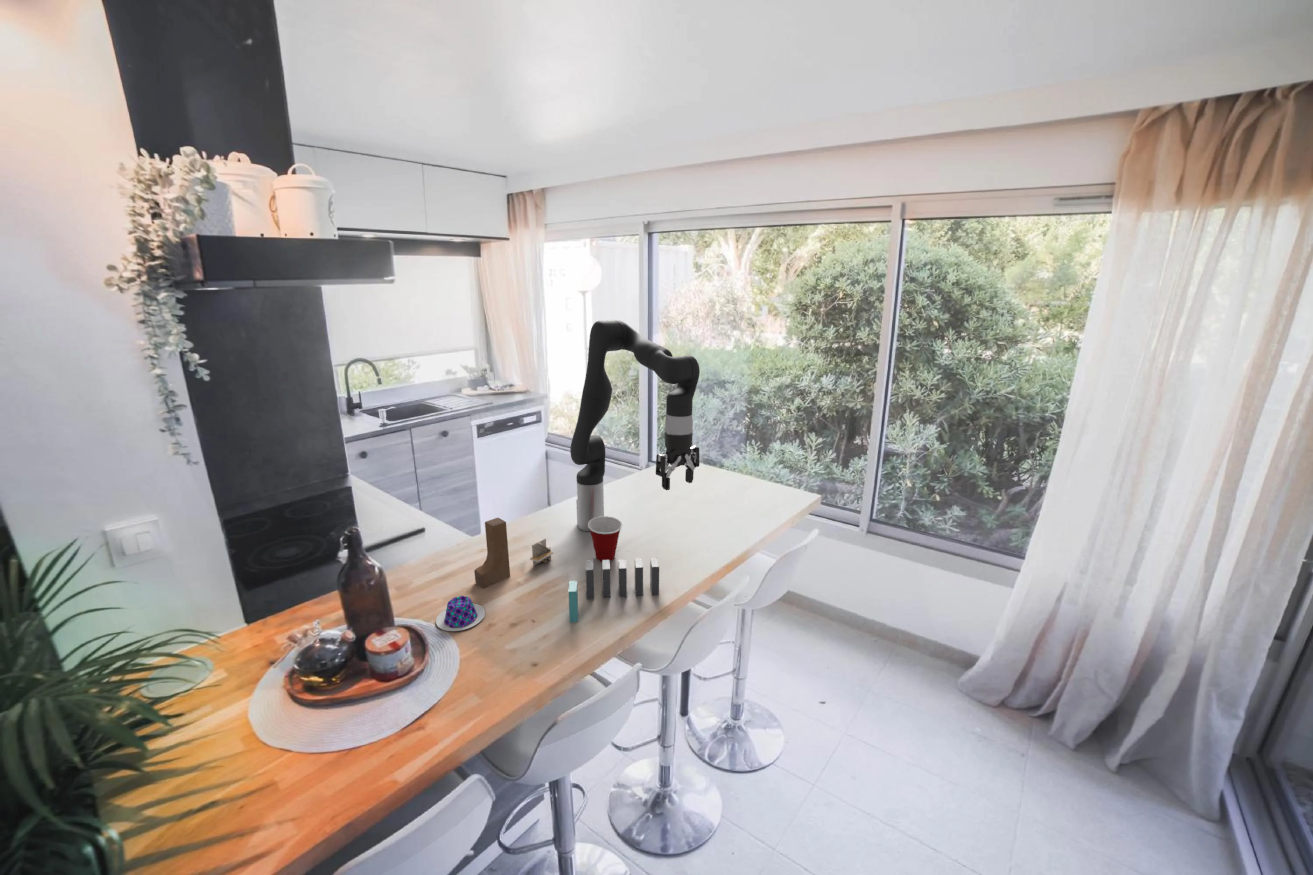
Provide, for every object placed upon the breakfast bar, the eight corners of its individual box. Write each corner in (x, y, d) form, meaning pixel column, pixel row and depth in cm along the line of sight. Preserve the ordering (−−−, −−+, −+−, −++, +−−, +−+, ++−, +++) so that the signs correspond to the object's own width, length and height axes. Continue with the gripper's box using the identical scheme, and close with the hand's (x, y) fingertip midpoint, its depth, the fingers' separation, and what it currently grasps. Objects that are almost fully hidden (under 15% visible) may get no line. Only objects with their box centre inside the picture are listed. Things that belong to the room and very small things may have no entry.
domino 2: (586, 599, 147) (585, 570, 145) (587, 589, 152) (586, 560, 149) (594, 598, 147) (593, 569, 145) (594, 588, 152) (593, 560, 150)
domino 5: (635, 596, 149) (635, 567, 146) (634, 586, 153) (634, 558, 151) (643, 596, 149) (643, 567, 146) (641, 586, 154) (641, 558, 151)
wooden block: (482, 589, 151) (477, 531, 146) (475, 583, 154) (469, 526, 149) (510, 577, 158) (506, 521, 153) (502, 571, 161) (498, 516, 156)
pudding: (485, 629, 135) (483, 610, 133) (433, 637, 131) (431, 618, 130) (485, 602, 146) (484, 585, 144) (438, 609, 142) (436, 592, 141)
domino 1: (569, 622, 137) (568, 591, 135) (570, 610, 142) (569, 580, 139) (577, 621, 137) (576, 591, 135) (578, 610, 142) (577, 580, 139)
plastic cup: (603, 570, 162) (603, 534, 158) (581, 557, 169) (580, 523, 166) (630, 557, 169) (629, 523, 166) (607, 546, 176) (607, 512, 173)
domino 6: (651, 595, 149) (652, 566, 146) (650, 585, 154) (650, 557, 151) (658, 595, 149) (659, 566, 147) (657, 585, 154) (657, 557, 151)
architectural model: (554, 562, 167) (553, 541, 165) (537, 572, 161) (536, 549, 159) (546, 559, 169) (545, 538, 167) (530, 568, 163) (528, 546, 161)
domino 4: (619, 597, 148) (619, 568, 145) (618, 587, 153) (618, 559, 150) (626, 597, 148) (626, 568, 146) (625, 587, 153) (625, 559, 150)
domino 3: (603, 598, 148) (602, 569, 145) (603, 588, 152) (602, 560, 150) (610, 597, 148) (609, 568, 145) (610, 587, 153) (609, 559, 150)
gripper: (688, 423, 152) (687, 476, 157) (649, 431, 143) (649, 487, 148) (707, 428, 147) (705, 483, 151) (668, 437, 138) (667, 496, 142)
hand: (677, 485), depth 150 cm, fingers open, 8 cm apart
